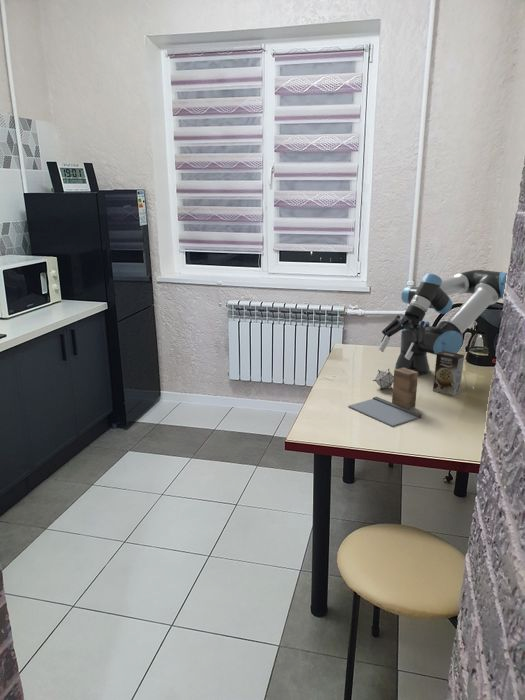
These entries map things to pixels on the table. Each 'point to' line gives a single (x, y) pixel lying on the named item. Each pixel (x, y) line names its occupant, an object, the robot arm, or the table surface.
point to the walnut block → (405, 388)
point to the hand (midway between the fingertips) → (393, 354)
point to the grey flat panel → (385, 411)
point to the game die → (384, 379)
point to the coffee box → (448, 373)
